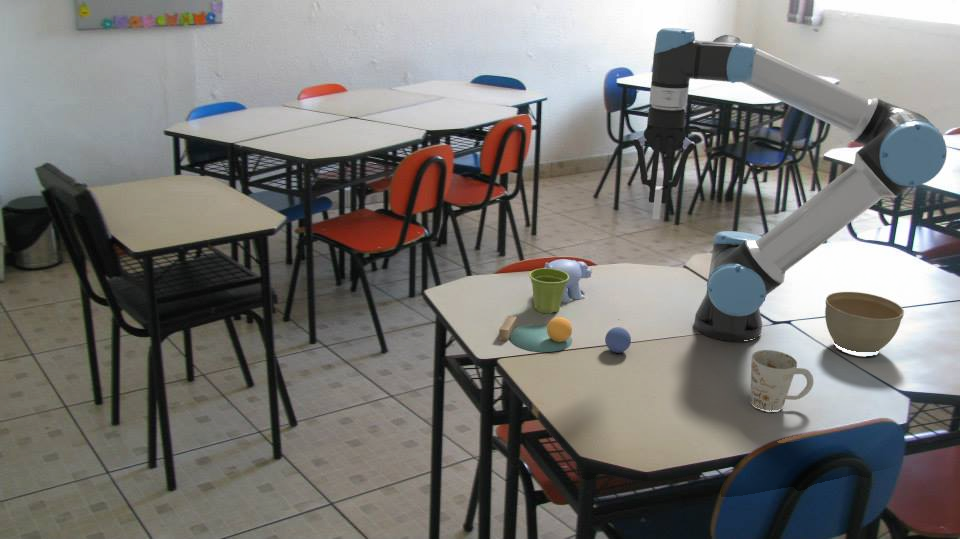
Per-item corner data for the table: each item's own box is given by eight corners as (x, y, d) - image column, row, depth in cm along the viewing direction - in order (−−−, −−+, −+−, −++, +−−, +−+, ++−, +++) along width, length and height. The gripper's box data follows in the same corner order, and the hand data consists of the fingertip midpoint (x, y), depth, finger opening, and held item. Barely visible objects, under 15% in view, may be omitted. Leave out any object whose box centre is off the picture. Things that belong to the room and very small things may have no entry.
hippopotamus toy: (601, 294, 229) (605, 258, 225) (556, 306, 220) (559, 269, 217) (572, 280, 237) (576, 246, 233) (528, 291, 228) (530, 255, 225)
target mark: (576, 330, 207) (576, 329, 207) (565, 356, 194) (566, 355, 194) (516, 321, 210) (516, 320, 210) (502, 346, 197) (502, 345, 197)
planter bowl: (890, 341, 209) (900, 297, 206) (897, 370, 195) (908, 324, 191) (816, 329, 214) (824, 286, 210) (818, 357, 199) (827, 311, 196)
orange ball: (554, 309, 202) (546, 330, 204) (550, 319, 197) (541, 340, 199) (577, 319, 201) (568, 340, 203) (573, 329, 196) (564, 350, 198)
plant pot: (563, 318, 213) (566, 284, 210) (524, 314, 214) (526, 279, 211) (568, 304, 221) (571, 270, 218) (530, 299, 223) (532, 266, 220)
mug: (738, 395, 181) (745, 349, 177) (799, 395, 182) (807, 350, 179) (753, 416, 173) (761, 369, 170) (816, 416, 174) (826, 369, 171)
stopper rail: (516, 326, 207) (516, 316, 206) (507, 340, 200) (508, 330, 199) (507, 325, 208) (508, 315, 207) (498, 339, 200) (499, 329, 199)
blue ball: (608, 320, 198) (603, 341, 200) (607, 333, 193) (602, 354, 196) (633, 325, 197) (628, 346, 200) (633, 338, 192) (627, 360, 195)
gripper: (634, 107, 184) (624, 219, 192) (700, 112, 181) (687, 225, 189) (636, 101, 191) (626, 209, 199) (700, 105, 188) (687, 215, 196)
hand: (656, 217), depth 194 cm, fingers closed
